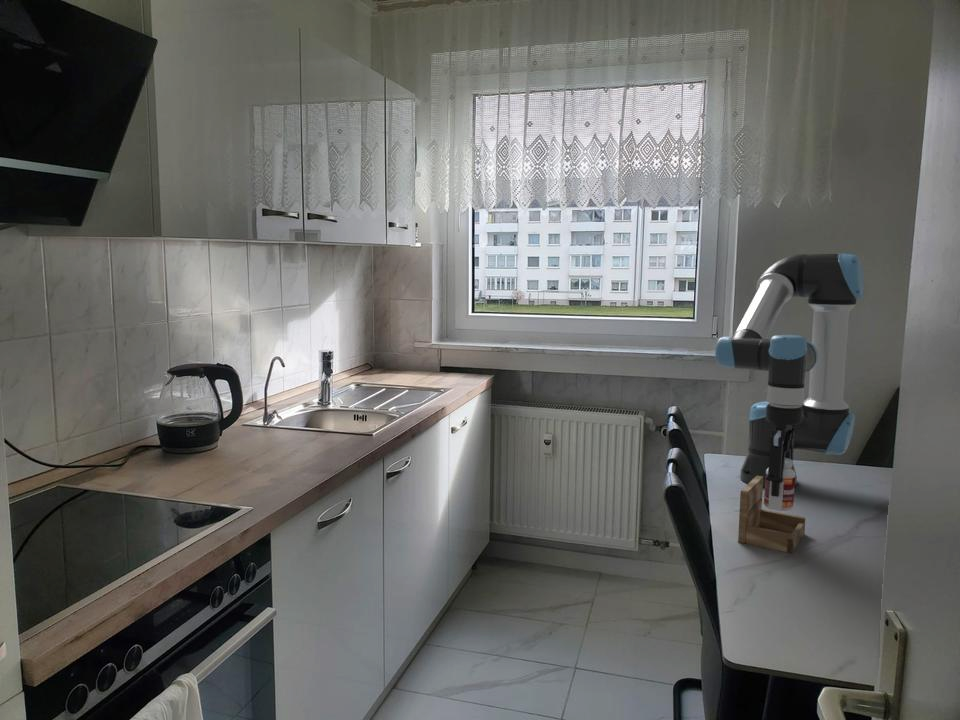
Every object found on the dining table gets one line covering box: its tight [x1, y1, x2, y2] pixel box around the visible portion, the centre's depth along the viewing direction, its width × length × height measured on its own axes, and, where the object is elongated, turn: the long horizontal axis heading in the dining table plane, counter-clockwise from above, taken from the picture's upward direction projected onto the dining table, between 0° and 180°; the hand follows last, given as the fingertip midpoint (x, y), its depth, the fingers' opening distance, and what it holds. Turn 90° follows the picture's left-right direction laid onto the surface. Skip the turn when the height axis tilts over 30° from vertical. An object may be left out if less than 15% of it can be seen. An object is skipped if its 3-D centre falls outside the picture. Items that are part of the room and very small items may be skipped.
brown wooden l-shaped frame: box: [737, 476, 806, 554], centre depth 164 cm, size 14×11×12 cm
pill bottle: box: [763, 458, 796, 512], centre depth 162 cm, size 6×6×11 cm
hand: (778, 505), depth 163 cm, fingers closed on pill bottle, 6 cm apart
